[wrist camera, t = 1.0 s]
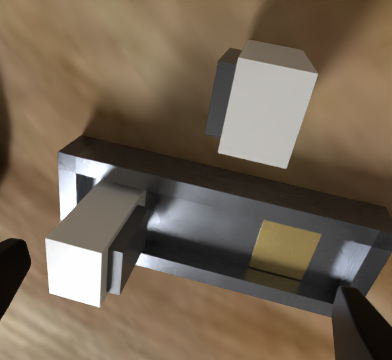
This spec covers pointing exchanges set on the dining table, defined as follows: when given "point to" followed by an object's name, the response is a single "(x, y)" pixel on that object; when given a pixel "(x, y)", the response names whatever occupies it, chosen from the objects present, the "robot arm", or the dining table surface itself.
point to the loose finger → (260, 101)
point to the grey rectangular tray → (238, 225)
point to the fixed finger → (97, 243)
